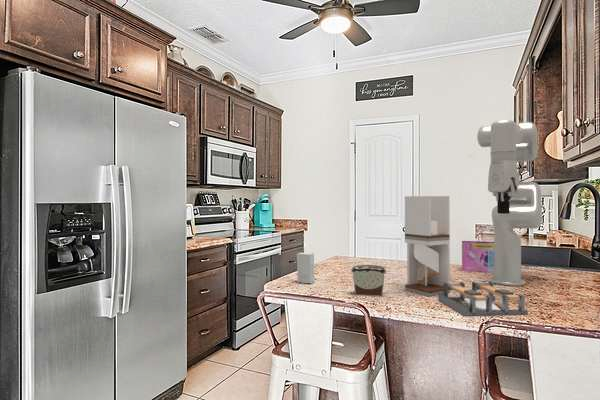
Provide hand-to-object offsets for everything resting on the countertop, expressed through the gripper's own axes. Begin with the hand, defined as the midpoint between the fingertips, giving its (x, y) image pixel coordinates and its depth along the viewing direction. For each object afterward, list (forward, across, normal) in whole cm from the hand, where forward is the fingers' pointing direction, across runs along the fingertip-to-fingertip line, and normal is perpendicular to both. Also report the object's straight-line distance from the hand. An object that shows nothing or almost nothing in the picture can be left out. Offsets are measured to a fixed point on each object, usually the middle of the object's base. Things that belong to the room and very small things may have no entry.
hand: (503, 213), depth 129 cm
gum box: (+29, -52, +25) cm, 64 cm away
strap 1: (+26, +6, -16) cm, 31 cm away
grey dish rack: (+29, +6, -11) cm, 32 cm away
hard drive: (+30, +6, -11) cm, 32 cm away
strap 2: (+26, +6, -6) cm, 27 cm away
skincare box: (+29, -34, -63) cm, 77 cm away
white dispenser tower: (+29, -15, -20) cm, 39 cm away
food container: (+29, -14, -42) cm, 53 cm away
